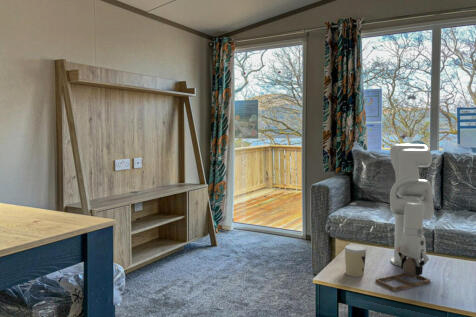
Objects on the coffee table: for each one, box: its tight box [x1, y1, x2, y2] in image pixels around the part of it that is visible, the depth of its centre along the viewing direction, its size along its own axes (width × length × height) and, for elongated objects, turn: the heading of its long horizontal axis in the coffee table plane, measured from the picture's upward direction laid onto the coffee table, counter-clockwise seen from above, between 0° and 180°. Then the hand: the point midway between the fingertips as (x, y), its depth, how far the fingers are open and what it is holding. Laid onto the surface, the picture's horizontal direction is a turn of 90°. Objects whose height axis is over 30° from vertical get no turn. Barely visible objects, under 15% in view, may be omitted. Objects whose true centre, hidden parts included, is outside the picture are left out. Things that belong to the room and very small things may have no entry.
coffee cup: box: [344, 244, 367, 277], centre depth 174 cm, size 9×9×12 cm
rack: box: [375, 272, 431, 292], centre depth 165 cm, size 21×13×2 cm, turn 115°
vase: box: [402, 257, 419, 279], centre depth 166 cm, size 7×7×9 cm
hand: (411, 271), depth 166 cm, fingers closed on vase, 6 cm apart
